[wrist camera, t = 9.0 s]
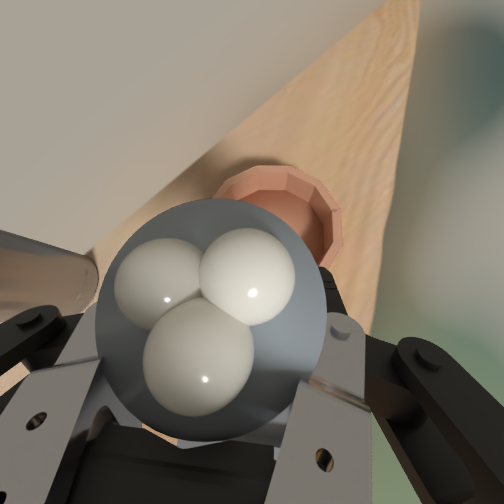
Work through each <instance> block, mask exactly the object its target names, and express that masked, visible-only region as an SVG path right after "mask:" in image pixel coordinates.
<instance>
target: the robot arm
mask: <svg viewBox="0 0 504 504" xmlns="http://www.w3.org/2000/svg"><path fill="white" fill-rule="evenodd" d="M312 256H313V255H312ZM313 258H314V257H313ZM318 268H319V271H320V274H321V277H322V280H323V285H324V290H325V295H326V306H327V320H326V332H325V337H324V342H323V347H322V350H321V353H320V356H319V359H318V362H317V364H316V366H315V368H314V370H313V372H312V374H311V377H310V379H309V380H308V379H304V378H300V381H299V385H298V388H297V392H296V395H295V398H294V402H293V405H292V409H291V412H290V416H289V419H288V423H287V426H286V430H285V433H284V437H283V440H282V444H281V447H280V451H279V454H278V458H277V460H275V459H274V446H273V445H265V444H258V443H250V442H242V441H235V440H227V441H222V442H217V443H212V444H207V445H202V446H198V447H193V448H188V449H182V448H179V447H177V446H175V445H173V444H171V443H170V442H168V441H166V440H164V439H162V438H161V437H159V436H157V435H155V434H153V433H152V432H150V431H148V430H146V429H144V428H142V422H141V421H139V420H138V419H137V418H136V417H135V416H134V415H133V414H131V413H130V412H129V411H128V410H127V409H126V408H125V406H124V405H123V404H122V403H121V402H120V401H119V399H118V398H117V397H116V395H115V394H114V392H113V390H112V389H111V387H110V386H109V384H108V382H107V379H106V377H105V375H104V373H103V358H104V357H98V353H97V347H96V340H95V315H96V306H97V302H96V303H94V304H93V305H91V306H90V307H89V308H88V309H87V310H86V311H85V313H81V314H78V313H80V312H81V311H82V310H83V309H84V308H85V307H86V306H87V305H88V304H89V302H90V301H91V299H92V298H93V296H94V294H95V291H96V288H97V283H98V273H97V270H96V267H95V265H94V263H93V262H92V261H91V260H90V259H89V258H87V257H86V256H84V255H80V254H77V253H74V252H71V251H68V250H64V249H61V248H58V247H55V246H52V245H48V244H45V243H42V242H39V241H36V240H32V239H29V238H26V237H23V236H19V235H16V234H13V233H9V232H6V231H3V230H0V322H3V323H1V324H0V376H1V375H3V374H4V373H5V372H7V371H8V370H10V369H11V368H12V367H14V366H15V365H16V364H18V363H19V362H22V363H23V365H24V366H25V367H26V368H27V369H28V370H29V372H30V374H28V375H27V376H26V377H25V378H23V379H22V380H21V381H19V382H18V383H17V384H16V385H14V386H13V387H12V388H11V389H9V390H8V391H7V392H5V393H4V394H3V395H2V396H0V504H372V417H371V412H372V413H373V415H374V416H375V418H376V420H377V422H378V424H379V426H380V427H381V429H382V431H383V433H384V435H385V437H386V438H387V440H388V442H389V444H390V445H391V447H392V449H393V451H394V453H395V455H396V457H397V458H398V460H399V462H400V464H401V466H402V468H403V470H404V472H405V473H406V475H407V477H408V479H409V481H410V482H411V484H412V486H413V488H414V490H415V492H416V494H417V495H418V497H419V499H420V501H421V503H422V504H504V407H503V406H502V405H501V404H500V403H499V402H498V401H497V400H496V399H495V398H494V397H493V396H492V395H490V393H489V392H488V391H486V390H485V389H484V388H483V387H482V386H481V385H480V384H479V383H478V382H477V381H476V380H475V379H474V378H473V377H472V376H471V375H470V374H469V373H468V372H467V371H466V370H465V369H464V368H463V367H462V366H461V365H460V364H459V363H457V361H455V360H454V359H453V358H452V357H451V356H450V355H449V354H448V353H447V352H446V351H444V350H443V349H442V348H440V347H439V346H437V345H435V344H433V343H431V342H429V341H427V340H424V339H421V338H416V337H406V338H403V339H401V340H400V341H399V343H398V345H394V344H391V343H388V342H385V341H381V340H379V339H376V338H373V337H371V336H369V335H367V334H365V333H364V330H363V328H362V327H361V326H360V325H359V324H358V322H356V321H355V320H354V319H352V318H351V317H349V316H348V314H347V312H346V309H345V307H344V304H343V302H342V299H341V296H340V294H339V291H338V290H337V286H336V284H335V281H334V279H333V276H332V274H331V273H330V272H329V271H328V270H327V269H326V268H325V267H321V266H318Z"/></svg>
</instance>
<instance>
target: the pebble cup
mask: <svg viewBox="0 0 504 504" xmlns="http://www.w3.org/2000/svg"><path fill="white" fill-rule="evenodd" d="M326 320H327V306H326V295H325V290H324V285H323V280H322V277H321V274H320V271H319V268H318V266H317V264H316V262H315V260H314V258H313V256H312V254H311V252H310V250H309V249H308V247H307V246H306V244H305V243H304V241H303V240H302V239H301V238H300V237H299V235H298V234H297V233H296V232H295V231H294V230H293V229H292V228H291V227H290V226H289V225H288V224H286V223H285V222H284V221H283V220H281V219H280V218H279V217H277V216H276V215H274V214H273V213H271V212H269V211H267V210H265V209H263V208H261V207H259V206H256V205H253V204H251V203H247V202H243V201H239V200H234V199H225V198H209V199H201V200H195V201H191V202H187V203H183V204H181V205H178V206H175V207H173V208H170V209H168V210H166V211H164V212H162V213H160V214H159V215H157V216H156V217H154V218H153V219H151V220H149V221H148V222H147V223H146V224H144V225H143V226H142V227H141V228H139V229H138V230H137V231H136V232H135V233H134V234H133V235H132V236H131V237H130V238H129V239H128V240H127V242H126V243H125V244H124V245H123V247H122V248H121V249H120V250H119V252H118V253H117V255H116V257H115V258H114V260H113V261H112V263H111V265H110V267H109V269H108V271H107V273H106V275H105V278H104V281H103V283H102V286H101V289H100V292H99V297H98V301H97V306H96V315H95V340H96V347H97V353H98V357H104V358H103V373H104V375H105V377H106V379H107V382H108V384H109V386H110V387H111V389H112V390H113V392H114V394H115V395H116V397H117V398H118V399H119V401H120V402H121V403H122V404H123V405H124V406H125V408H126V409H127V410H128V411H129V412H130V413H131V414H133V415H134V416H135V417H136V418H137V419H138V420H139V421H141V422H142V423H144V424H145V425H147V426H149V427H150V428H152V429H154V430H155V431H158V432H160V433H162V434H165V435H167V436H170V437H173V438H177V439H181V440H185V441H194V442H215V441H224V440H228V439H232V438H236V437H240V436H242V435H245V434H247V433H250V432H252V431H254V430H257V429H258V428H260V427H262V426H263V425H265V424H267V423H268V422H270V421H271V420H273V419H274V418H275V417H277V416H278V415H279V414H280V413H281V412H283V411H284V410H285V409H286V408H287V407H288V406H289V405H290V404H291V403H292V402H293V400H294V398H295V395H296V392H297V388H298V385H299V381H300V378H304V379H308V380H309V379H310V377H311V374H312V372H313V370H314V368H315V366H316V364H317V362H318V359H319V356H320V353H321V350H322V347H323V342H324V337H325V332H326Z"/></svg>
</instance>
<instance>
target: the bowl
mask: <svg viewBox="0 0 504 504" xmlns="http://www.w3.org/2000/svg"><path fill="white" fill-rule="evenodd" d="M212 198H225V199H234V200H239V201H243V202H247V203H251V204H253V205H256V206H259V207H261V208H263V209H265V210H267V211H269V212H271V213H273V214H274V215H276V216H277V217H279V218H280V219H281V220H283V221H284V222H285V223H286V224H288V225H289V226H290V227H291V228H292V229H293V230H294V231H295V232H296V233H297V234H298V235H299V237H300V238H301V239H302V240H303V241H304V243H305V244H306V246H307V247H308V249H309V250H310V252H311V254H312V255H313V257H314V260H315V262H316V264H317V266H321V267H325V268H326V269H327V270H328V269H329V267H330V266H331V264H332V262H333V261H334V259H335V257H336V255H337V254H338V252H339V250H340V249H341V247H342V244H343V238H342V220H341V209H340V207H339V206H338V204H337V203H336V201H335V200H334V199H333V197H332V196H331V194H330V193H329V191H328V190H327V189H326V187H325V186H324V184H323V183H322V181H320V180H318V179H316V178H314V177H312V176H310V175H308V174H306V173H304V172H302V171H300V170H298V169H296V168H294V167H292V166H273V165H256V166H254V167H252V168H250V169H247V170H245V171H243V172H241V173H239V174H237V175H235V176H233V177H231V178H228V179H226V180H225V181H224V183H223V184H222V185H221V186H220V188H219V189H218V190H217V192H216V193H215V194H214V196H213V197H212Z"/></svg>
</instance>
